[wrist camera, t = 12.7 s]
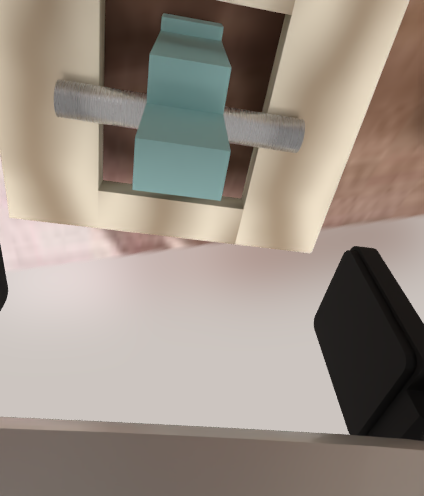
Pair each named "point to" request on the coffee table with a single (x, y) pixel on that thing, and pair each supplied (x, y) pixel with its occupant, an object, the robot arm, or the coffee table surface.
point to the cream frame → (236, 120)
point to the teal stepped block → (184, 112)
